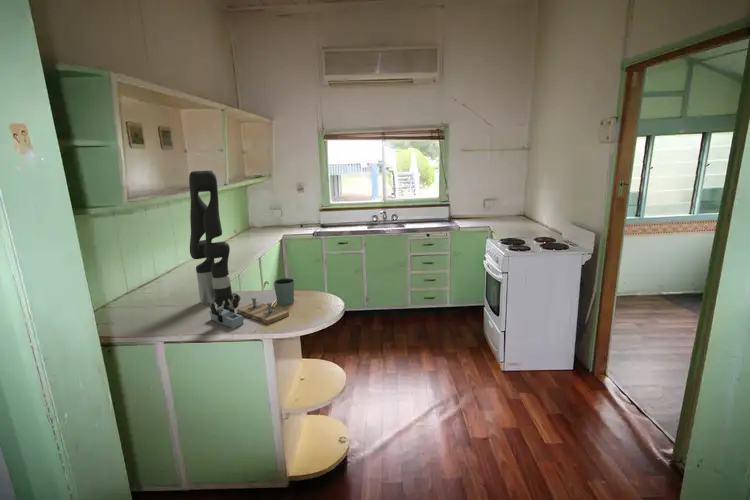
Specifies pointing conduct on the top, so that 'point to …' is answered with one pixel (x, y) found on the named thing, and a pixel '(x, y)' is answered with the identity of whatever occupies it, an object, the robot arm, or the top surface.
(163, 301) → the top surface
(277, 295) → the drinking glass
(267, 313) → the mount board
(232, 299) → the flashlight
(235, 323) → the blue-grey block with holes
